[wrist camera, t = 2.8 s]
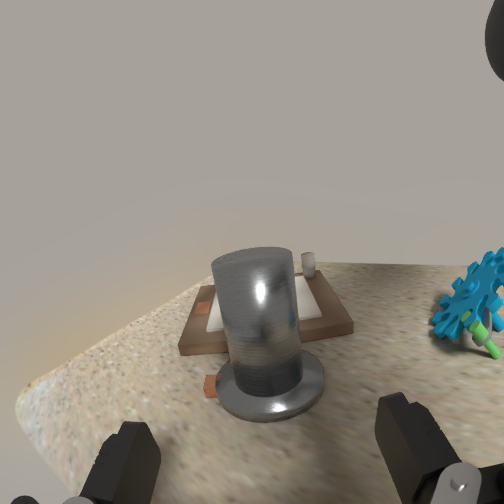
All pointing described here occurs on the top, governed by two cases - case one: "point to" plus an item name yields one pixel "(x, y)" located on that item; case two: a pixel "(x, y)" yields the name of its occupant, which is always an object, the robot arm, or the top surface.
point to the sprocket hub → (262, 339)
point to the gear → (474, 304)
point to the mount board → (309, 311)
